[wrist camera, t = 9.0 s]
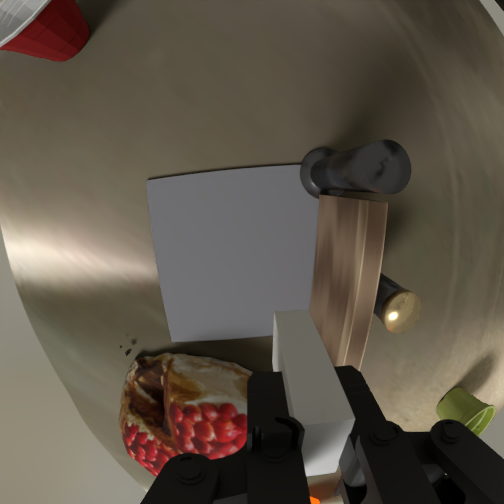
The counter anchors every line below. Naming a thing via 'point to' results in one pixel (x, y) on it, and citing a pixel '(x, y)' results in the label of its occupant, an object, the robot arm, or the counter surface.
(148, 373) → the strawberry shortcake
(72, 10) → the plastic cup
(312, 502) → the orange juice
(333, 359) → the gate
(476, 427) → the plant pot
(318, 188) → the salt and pepper shakers
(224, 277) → the rubber mat
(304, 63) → the counter surface
